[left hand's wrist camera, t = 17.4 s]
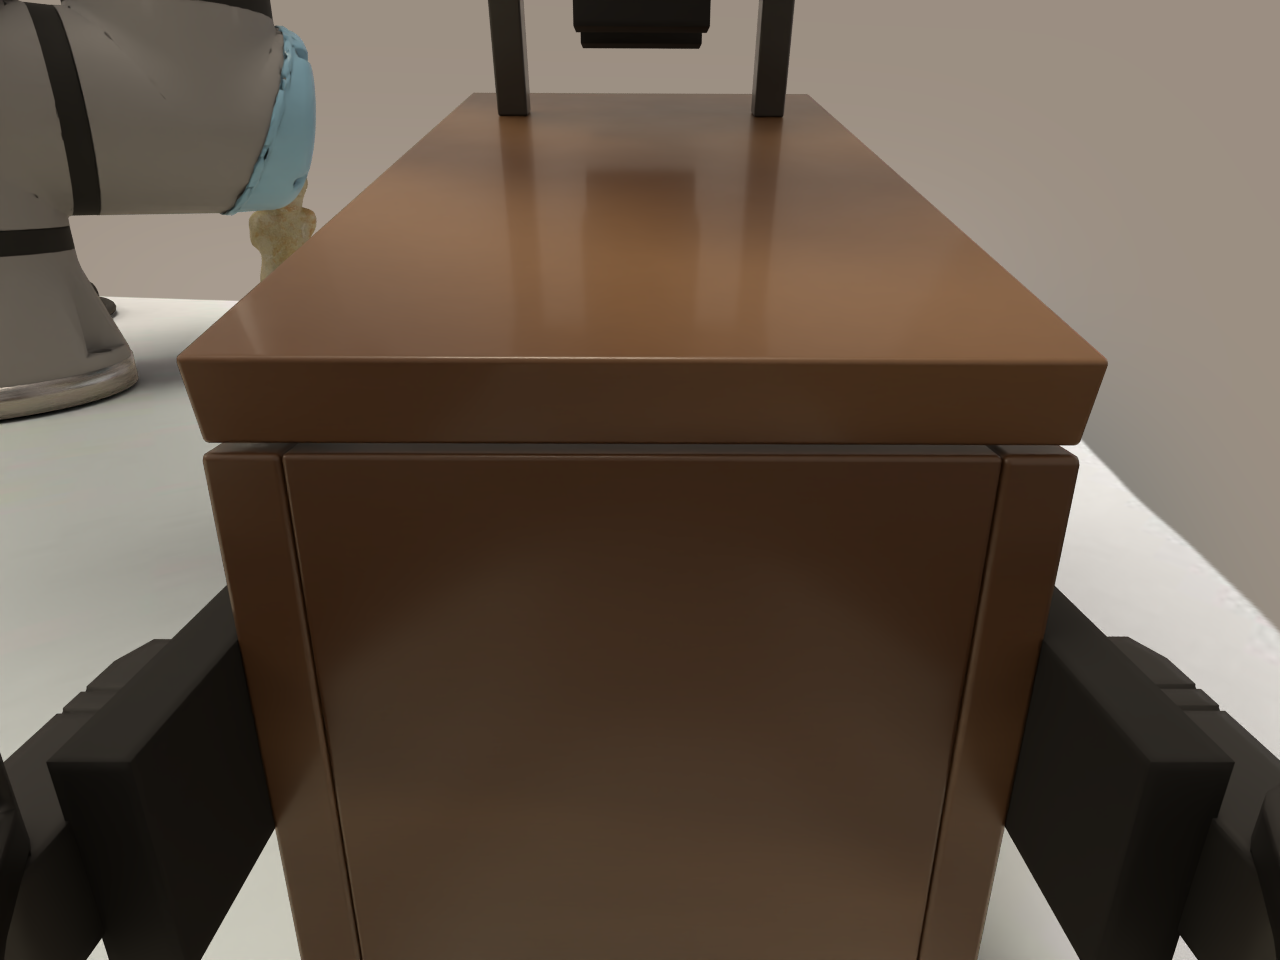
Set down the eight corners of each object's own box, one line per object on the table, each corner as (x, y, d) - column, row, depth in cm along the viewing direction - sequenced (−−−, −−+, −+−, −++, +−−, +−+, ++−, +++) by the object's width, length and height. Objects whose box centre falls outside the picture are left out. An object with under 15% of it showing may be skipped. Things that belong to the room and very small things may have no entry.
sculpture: (276, 329, 72) (248, 148, 66) (254, 319, 77) (226, 150, 72) (341, 322, 75) (319, 149, 70) (315, 313, 80) (293, 151, 75)
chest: (501, 585, 27) (481, 279, 23) (776, 586, 27) (798, 280, 23) (326, 1097, 12) (197, 454, 8) (951, 1098, 12) (1085, 457, 8)
